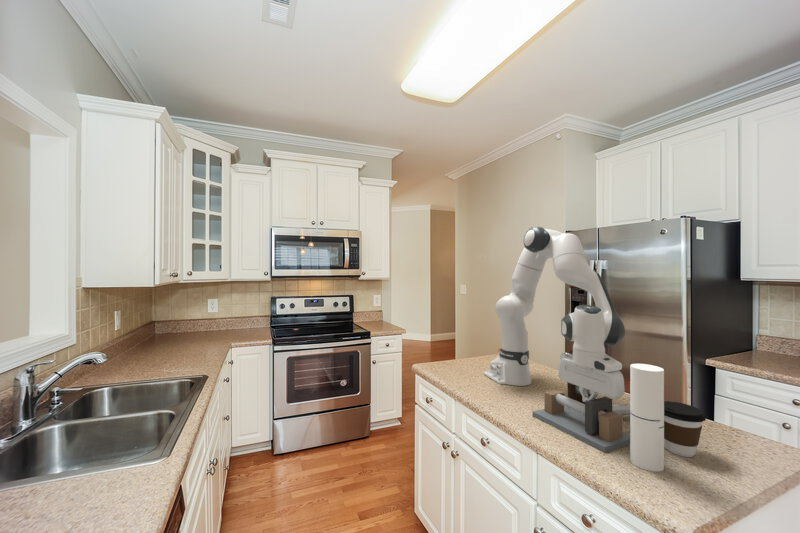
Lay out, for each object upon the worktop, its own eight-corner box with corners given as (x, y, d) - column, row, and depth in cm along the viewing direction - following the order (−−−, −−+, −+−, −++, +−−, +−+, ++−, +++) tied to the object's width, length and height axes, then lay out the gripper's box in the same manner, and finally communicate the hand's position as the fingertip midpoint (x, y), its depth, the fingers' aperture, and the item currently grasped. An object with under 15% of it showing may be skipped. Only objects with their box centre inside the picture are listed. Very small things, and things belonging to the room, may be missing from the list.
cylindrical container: (624, 455, 93) (624, 363, 93) (651, 456, 93) (651, 363, 93) (642, 471, 86) (641, 371, 86) (671, 471, 86) (671, 371, 86)
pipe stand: (532, 415, 118) (532, 392, 118) (561, 409, 124) (561, 386, 124) (604, 452, 95) (604, 423, 95) (636, 442, 101) (636, 414, 101)
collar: (584, 431, 103) (584, 401, 103) (604, 425, 107) (604, 396, 107) (592, 434, 101) (592, 404, 101) (612, 428, 105) (612, 399, 105)
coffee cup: (686, 464, 89) (686, 418, 89) (645, 444, 100) (645, 402, 100) (716, 458, 92) (716, 413, 92) (673, 439, 103) (673, 398, 103)
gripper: (553, 351, 115) (553, 393, 115) (613, 368, 97) (613, 417, 96) (567, 350, 118) (567, 390, 118) (627, 365, 99) (627, 413, 99)
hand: (588, 402), depth 107 cm, fingers closed
